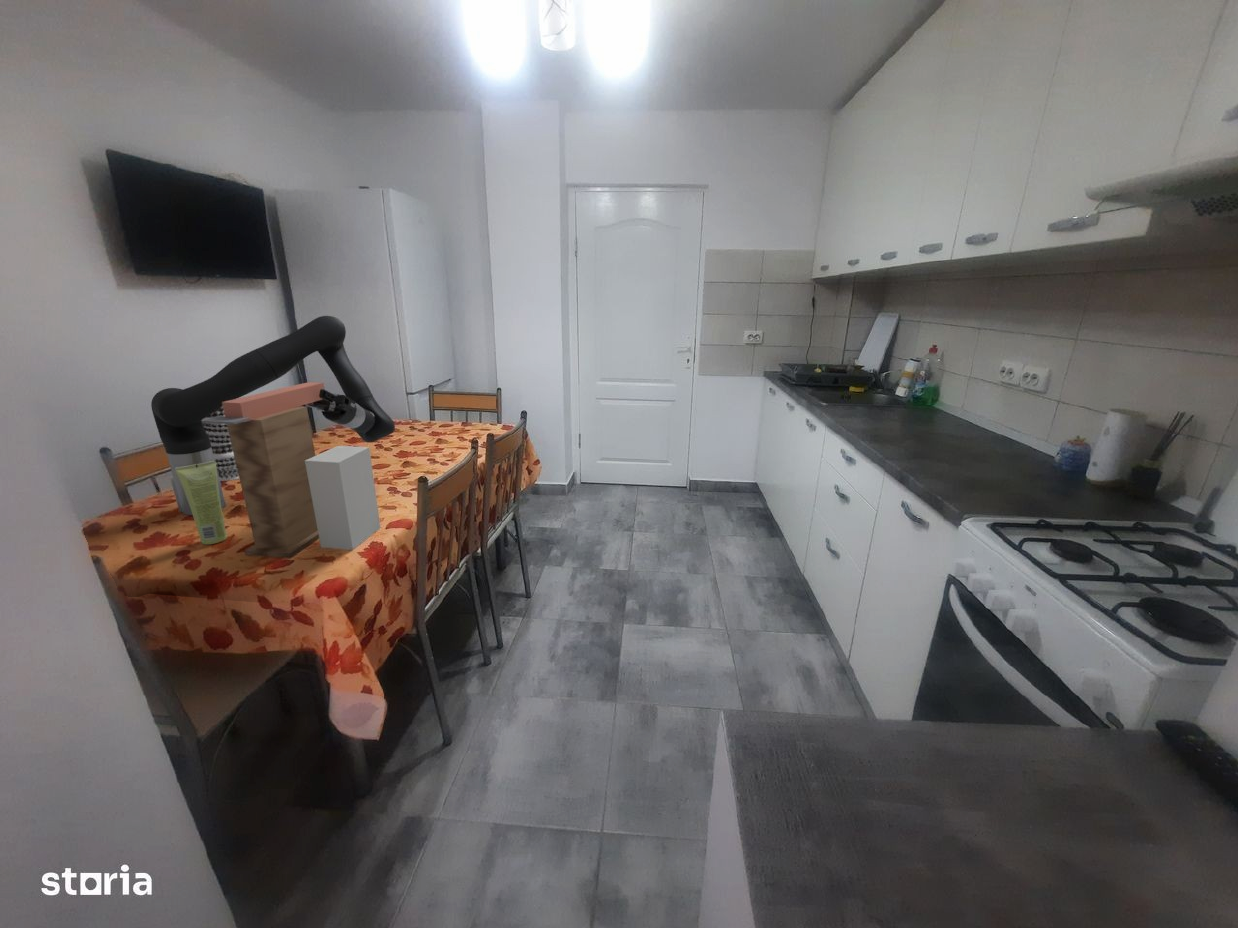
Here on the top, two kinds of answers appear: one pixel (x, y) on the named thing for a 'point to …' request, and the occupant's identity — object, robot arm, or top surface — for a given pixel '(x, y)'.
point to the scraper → (267, 403)
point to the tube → (204, 500)
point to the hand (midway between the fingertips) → (304, 392)
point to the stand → (276, 481)
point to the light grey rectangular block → (343, 496)
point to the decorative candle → (221, 447)
